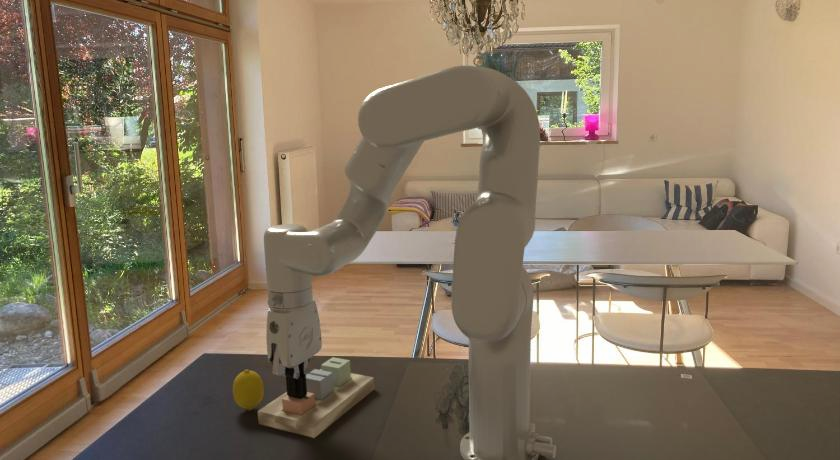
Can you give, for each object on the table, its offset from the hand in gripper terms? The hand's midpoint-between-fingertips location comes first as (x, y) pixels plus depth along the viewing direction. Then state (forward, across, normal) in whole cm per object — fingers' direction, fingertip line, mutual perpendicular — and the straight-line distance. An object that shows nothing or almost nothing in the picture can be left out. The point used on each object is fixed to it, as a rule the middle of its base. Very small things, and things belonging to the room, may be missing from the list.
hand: (297, 395), depth 113 cm
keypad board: (+5, +6, 0) cm, 8 cm away
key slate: (+3, +6, 0) cm, 7 cm away
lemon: (+5, 0, +11) cm, 12 cm away
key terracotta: (+5, 0, 0) cm, 5 cm away
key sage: (+3, +12, 0) cm, 12 cm away
